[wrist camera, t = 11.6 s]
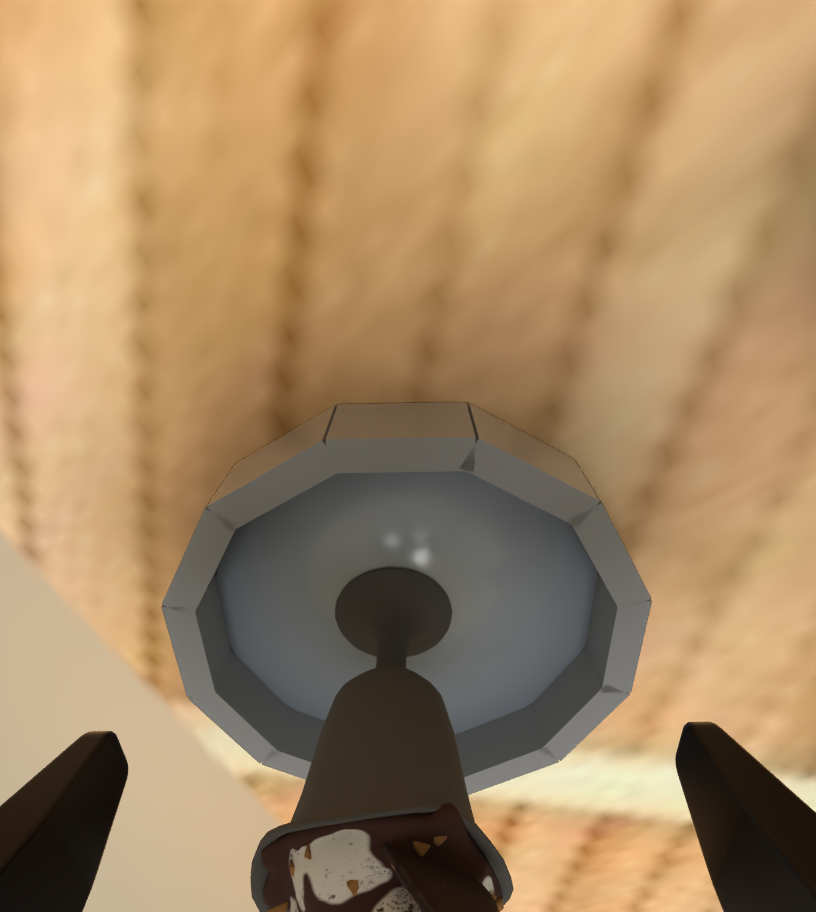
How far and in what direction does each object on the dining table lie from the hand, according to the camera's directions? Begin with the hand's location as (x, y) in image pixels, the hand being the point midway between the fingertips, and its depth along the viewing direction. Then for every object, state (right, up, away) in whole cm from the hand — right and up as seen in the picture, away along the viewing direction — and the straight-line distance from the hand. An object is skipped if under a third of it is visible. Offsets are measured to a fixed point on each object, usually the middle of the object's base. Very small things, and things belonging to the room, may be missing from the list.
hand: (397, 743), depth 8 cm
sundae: (0, -2, +14) cm, 15 cm away
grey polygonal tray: (0, -2, +15) cm, 15 cm away
